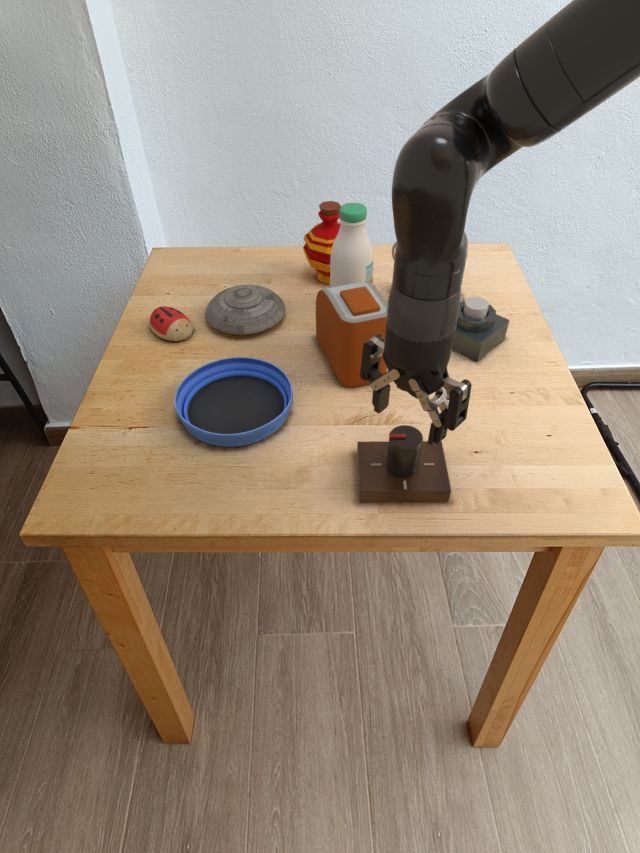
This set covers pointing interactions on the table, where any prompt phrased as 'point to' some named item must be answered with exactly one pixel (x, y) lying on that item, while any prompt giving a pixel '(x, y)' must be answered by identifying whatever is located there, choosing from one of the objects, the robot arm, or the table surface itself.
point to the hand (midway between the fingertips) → (406, 424)
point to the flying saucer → (245, 310)
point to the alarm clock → (349, 327)
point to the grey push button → (476, 307)
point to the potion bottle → (323, 240)
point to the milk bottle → (351, 248)
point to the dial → (404, 450)
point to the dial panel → (391, 488)
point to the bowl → (234, 401)
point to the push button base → (478, 333)
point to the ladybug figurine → (170, 324)
